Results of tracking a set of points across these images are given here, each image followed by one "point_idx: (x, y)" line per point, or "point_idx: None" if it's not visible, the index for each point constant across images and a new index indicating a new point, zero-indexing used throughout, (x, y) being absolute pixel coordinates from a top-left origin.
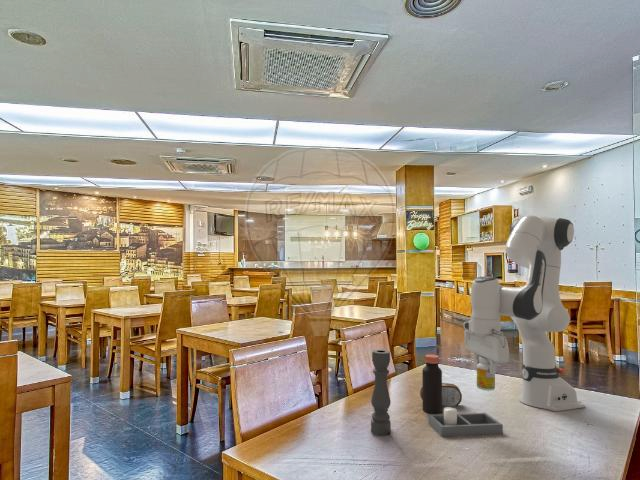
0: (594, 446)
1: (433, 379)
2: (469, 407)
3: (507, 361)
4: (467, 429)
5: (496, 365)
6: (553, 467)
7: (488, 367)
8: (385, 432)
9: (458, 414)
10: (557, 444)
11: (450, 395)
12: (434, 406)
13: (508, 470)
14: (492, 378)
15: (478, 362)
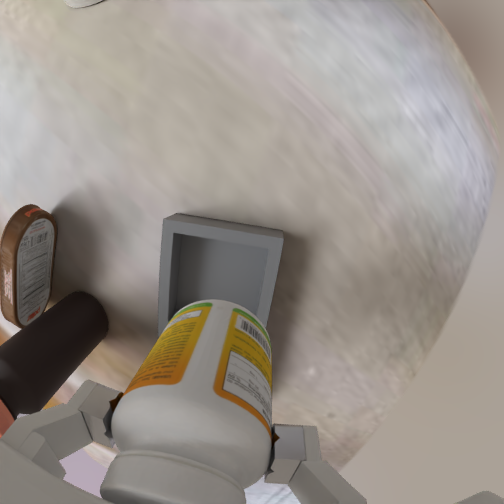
0: (403, 37)
1: (51, 392)
2: (61, 179)
3: (494, 502)
4: None
5: (346, 490)
6: (456, 245)
7: (267, 481)
8: None
9: (164, 324)
10: (378, 112)
11: (33, 250)
12: (95, 340)
13: (421, 346)
14: (271, 390)
15: (88, 433)
